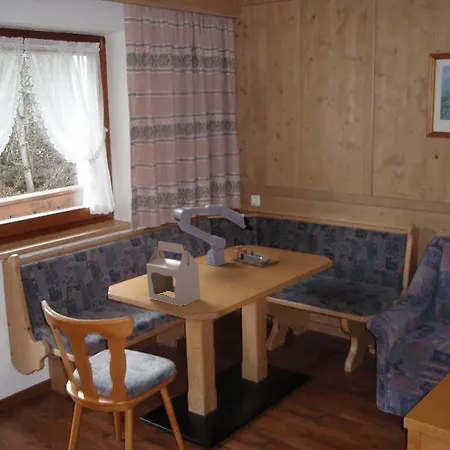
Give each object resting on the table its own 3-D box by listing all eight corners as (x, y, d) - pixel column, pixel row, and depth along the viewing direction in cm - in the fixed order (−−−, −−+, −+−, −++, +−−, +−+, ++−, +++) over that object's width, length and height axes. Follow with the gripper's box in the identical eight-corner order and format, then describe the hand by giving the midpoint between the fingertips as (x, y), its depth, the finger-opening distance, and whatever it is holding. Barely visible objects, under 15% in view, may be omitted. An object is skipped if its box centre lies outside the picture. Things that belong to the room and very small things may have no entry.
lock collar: (247, 256, 380) (246, 245, 378) (237, 259, 375) (236, 248, 373) (243, 255, 382) (243, 244, 381) (233, 258, 377) (233, 247, 376)
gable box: (201, 299, 310) (197, 242, 304) (182, 307, 300) (178, 248, 295) (167, 291, 324) (163, 237, 319) (148, 299, 314) (144, 242, 309)
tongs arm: (265, 261, 367) (265, 256, 366) (262, 261, 366) (262, 256, 366) (253, 256, 380) (253, 251, 379) (251, 256, 379) (250, 251, 378)
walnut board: (279, 262, 367) (279, 261, 367) (261, 268, 358) (261, 266, 358) (249, 255, 386) (249, 254, 386) (231, 260, 377) (231, 258, 377)
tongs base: (269, 263, 363) (268, 257, 363) (263, 264, 361) (263, 258, 360) (246, 257, 378) (245, 251, 377) (240, 259, 375) (240, 253, 374)
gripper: (241, 218, 366) (258, 227, 373) (234, 204, 377) (251, 214, 385) (233, 227, 368) (251, 236, 375) (226, 213, 379) (243, 223, 387)
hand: (250, 225), depth 380 cm, fingers open, 7 cm apart
